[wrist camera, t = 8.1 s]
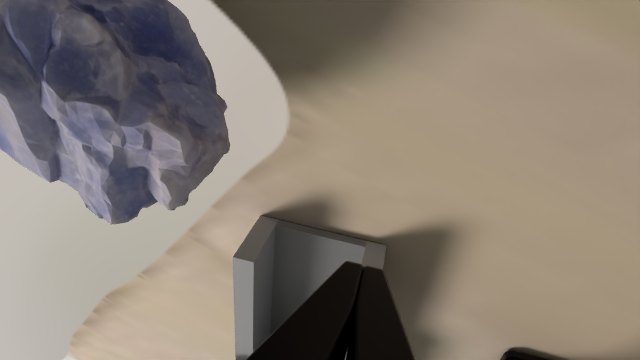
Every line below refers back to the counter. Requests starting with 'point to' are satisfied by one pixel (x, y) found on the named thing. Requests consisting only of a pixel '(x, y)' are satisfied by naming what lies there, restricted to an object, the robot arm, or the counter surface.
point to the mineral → (109, 101)
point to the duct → (286, 274)
